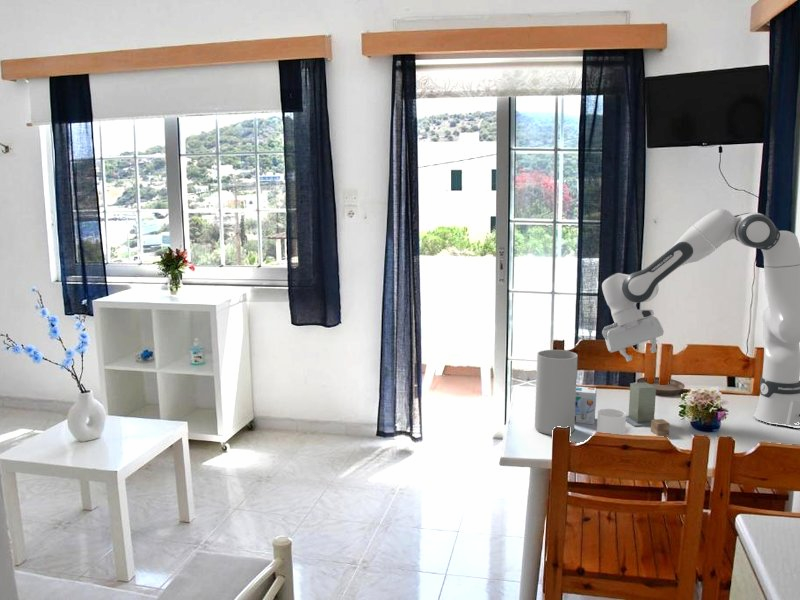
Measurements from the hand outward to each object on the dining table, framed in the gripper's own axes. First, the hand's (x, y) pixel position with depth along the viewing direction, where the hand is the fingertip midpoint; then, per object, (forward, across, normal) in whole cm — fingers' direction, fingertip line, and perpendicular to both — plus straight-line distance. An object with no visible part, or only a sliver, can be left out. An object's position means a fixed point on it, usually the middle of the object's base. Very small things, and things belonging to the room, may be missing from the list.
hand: (642, 356), depth 255 cm
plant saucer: (+14, +15, +31) cm, 37 cm away
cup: (+22, -29, -20) cm, 42 cm away
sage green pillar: (+20, -10, -2) cm, 22 cm away
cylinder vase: (+13, -41, -8) cm, 44 cm away
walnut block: (+25, -10, -13) cm, 30 cm away
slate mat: (+20, -10, -2) cm, 22 cm away
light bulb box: (+13, -29, 0) cm, 32 cm away
